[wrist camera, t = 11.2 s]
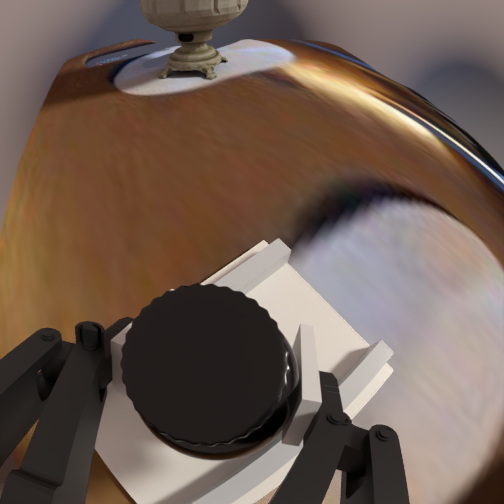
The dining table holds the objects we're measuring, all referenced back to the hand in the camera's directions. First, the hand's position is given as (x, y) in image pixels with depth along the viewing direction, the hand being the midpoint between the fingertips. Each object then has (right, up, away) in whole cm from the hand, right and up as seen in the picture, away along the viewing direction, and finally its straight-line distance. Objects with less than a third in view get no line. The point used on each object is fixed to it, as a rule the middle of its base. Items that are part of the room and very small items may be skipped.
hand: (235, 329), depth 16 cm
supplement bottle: (-1, -5, +1) cm, 5 cm away
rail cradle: (-1, -6, +4) cm, 7 cm away
